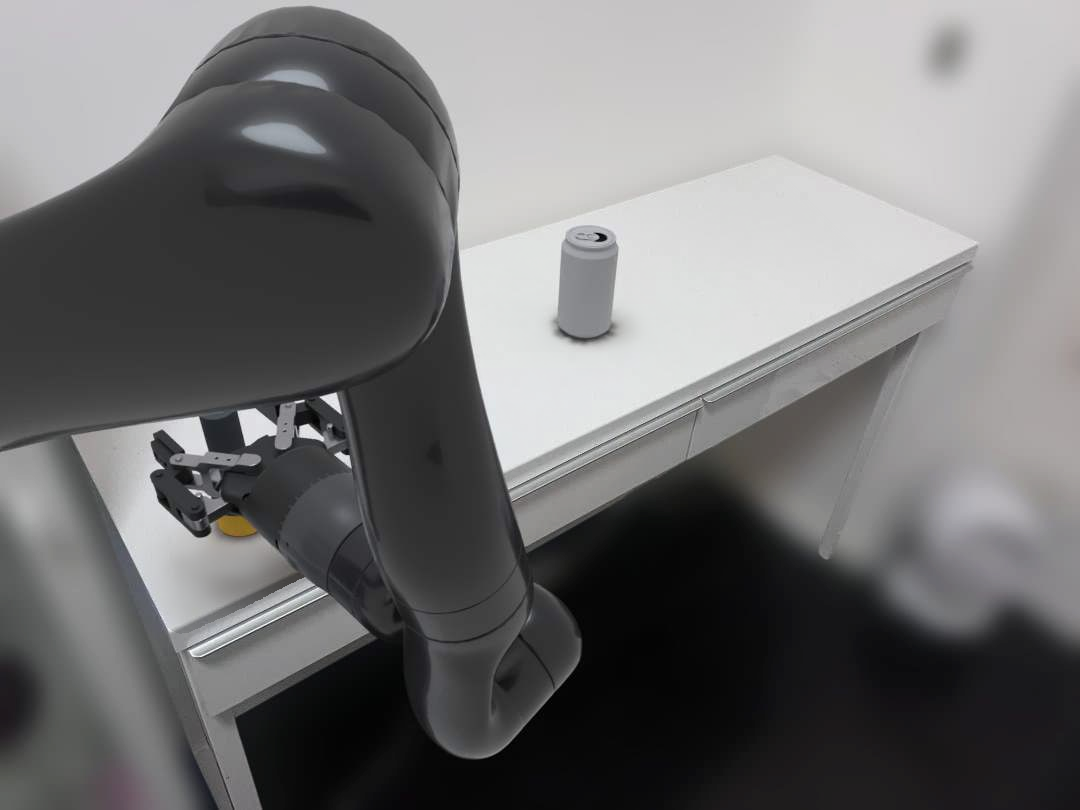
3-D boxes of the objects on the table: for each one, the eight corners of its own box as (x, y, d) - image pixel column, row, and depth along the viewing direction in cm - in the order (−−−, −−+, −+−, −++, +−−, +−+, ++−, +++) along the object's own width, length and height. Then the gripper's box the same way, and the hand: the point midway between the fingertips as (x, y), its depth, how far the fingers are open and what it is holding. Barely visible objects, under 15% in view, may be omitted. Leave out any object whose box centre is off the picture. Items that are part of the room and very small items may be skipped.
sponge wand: (214, 538, 68) (181, 427, 60) (222, 501, 71) (191, 392, 64) (268, 534, 68) (242, 424, 61) (273, 497, 72) (249, 389, 64)
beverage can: (611, 343, 94) (622, 249, 87) (556, 340, 94) (562, 246, 86) (608, 314, 99) (618, 223, 92) (556, 312, 99) (561, 221, 91)
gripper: (406, 434, 58) (279, 344, 66) (225, 538, 49) (106, 419, 58) (412, 508, 63) (292, 415, 71) (247, 615, 54) (133, 494, 63)
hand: (209, 417), depth 65 cm, fingers open, 8 cm apart
